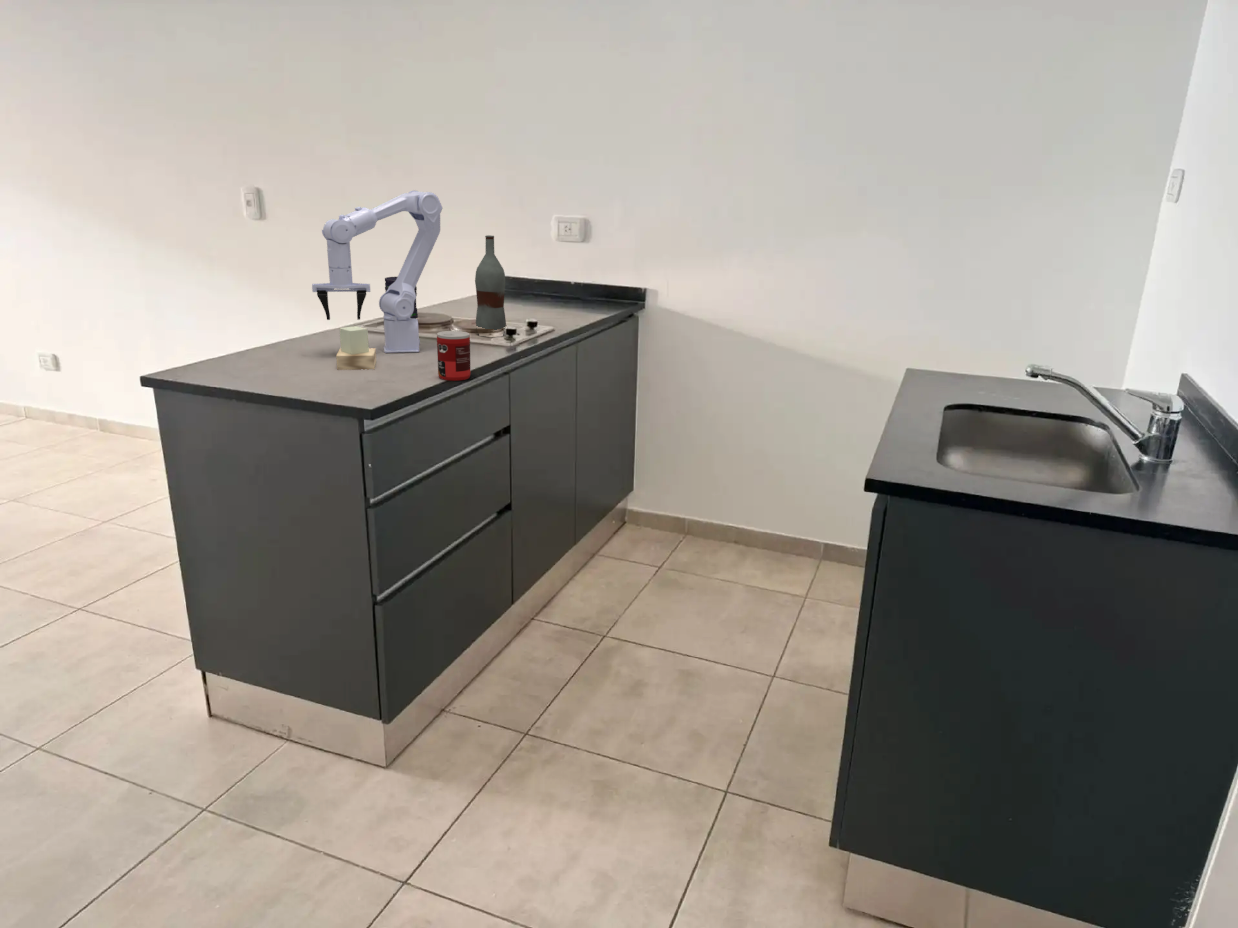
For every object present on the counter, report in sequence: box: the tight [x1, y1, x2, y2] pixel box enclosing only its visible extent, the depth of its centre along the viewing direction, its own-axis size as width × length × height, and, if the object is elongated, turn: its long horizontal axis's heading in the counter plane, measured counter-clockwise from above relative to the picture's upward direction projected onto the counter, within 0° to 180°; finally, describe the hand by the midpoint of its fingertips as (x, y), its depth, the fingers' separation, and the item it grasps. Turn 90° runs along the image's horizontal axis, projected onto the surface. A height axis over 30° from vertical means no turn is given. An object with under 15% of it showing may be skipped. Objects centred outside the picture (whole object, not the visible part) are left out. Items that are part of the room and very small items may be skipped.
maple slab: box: [336, 347, 377, 371], centre depth 218 cm, size 9×9×4 cm
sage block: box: [339, 325, 370, 355], centre depth 216 cm, size 5×5×6 cm
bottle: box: [474, 234, 507, 330], centre depth 259 cm, size 9×9×30 cm
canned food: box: [436, 330, 471, 382], centre depth 209 cm, size 8×8×11 cm
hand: (343, 319), depth 225 cm, fingers open, 7 cm apart
